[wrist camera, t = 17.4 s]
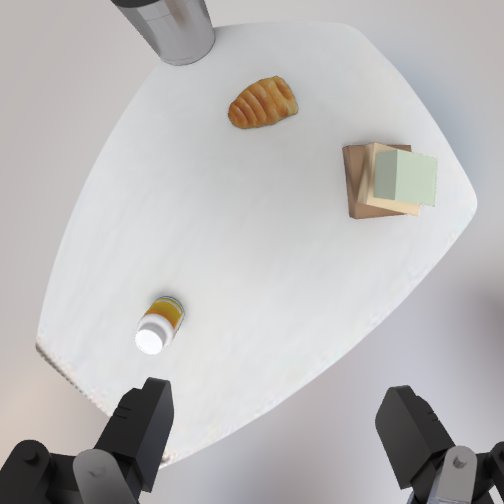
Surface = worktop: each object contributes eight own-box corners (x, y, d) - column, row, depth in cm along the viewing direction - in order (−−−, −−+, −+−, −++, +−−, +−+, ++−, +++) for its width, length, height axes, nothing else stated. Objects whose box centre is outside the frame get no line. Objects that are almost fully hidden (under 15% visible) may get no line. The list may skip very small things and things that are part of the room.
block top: (364, 145, 34) (374, 142, 30) (413, 159, 34) (425, 158, 31) (356, 202, 36) (366, 204, 32) (405, 213, 36) (417, 216, 32)
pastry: (242, 142, 37) (241, 137, 33) (219, 104, 36) (215, 96, 32) (300, 112, 36) (305, 105, 32) (277, 75, 35) (278, 65, 31)
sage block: (375, 153, 31) (397, 149, 25) (411, 160, 31) (436, 158, 25) (373, 197, 32) (394, 200, 26) (409, 202, 32) (434, 206, 26)
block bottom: (341, 148, 37) (348, 145, 34) (399, 147, 37) (410, 145, 33) (348, 216, 40) (356, 219, 36) (405, 210, 39) (416, 213, 36)
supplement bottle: (152, 294, 42) (127, 321, 33) (184, 298, 42) (166, 327, 33) (153, 323, 44) (132, 355, 34) (184, 328, 44) (168, 362, 34)
